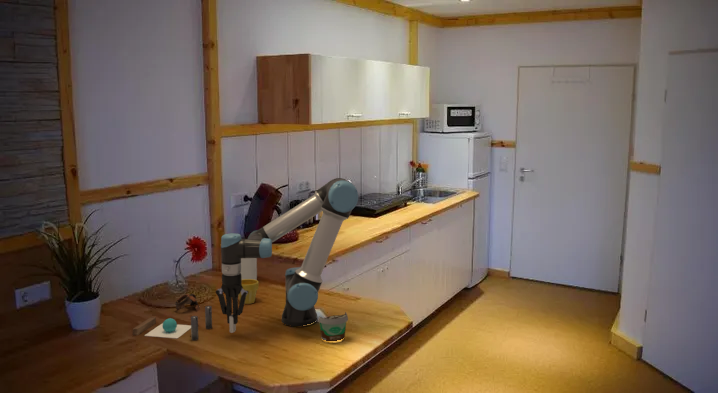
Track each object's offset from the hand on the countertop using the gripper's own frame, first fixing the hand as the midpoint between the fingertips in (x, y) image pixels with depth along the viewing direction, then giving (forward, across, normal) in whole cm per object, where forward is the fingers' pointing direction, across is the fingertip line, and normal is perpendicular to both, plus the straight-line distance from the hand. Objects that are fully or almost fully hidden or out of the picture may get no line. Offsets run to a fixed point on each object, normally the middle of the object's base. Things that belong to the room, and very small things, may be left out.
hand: (232, 331), depth 231 cm
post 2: (+2, -13, +6) cm, 15 cm away
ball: (-1, -26, -1) cm, 26 cm away
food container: (+2, +41, +3) cm, 41 cm away
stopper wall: (+2, -38, 0) cm, 38 cm away
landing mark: (+2, -27, 0) cm, 27 cm away
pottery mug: (+2, -32, +26) cm, 41 cm away
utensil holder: (+2, -24, +72) cm, 76 cm away
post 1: (+2, -13, -6) cm, 15 cm away
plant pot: (+2, -10, +42) cm, 43 cm away
